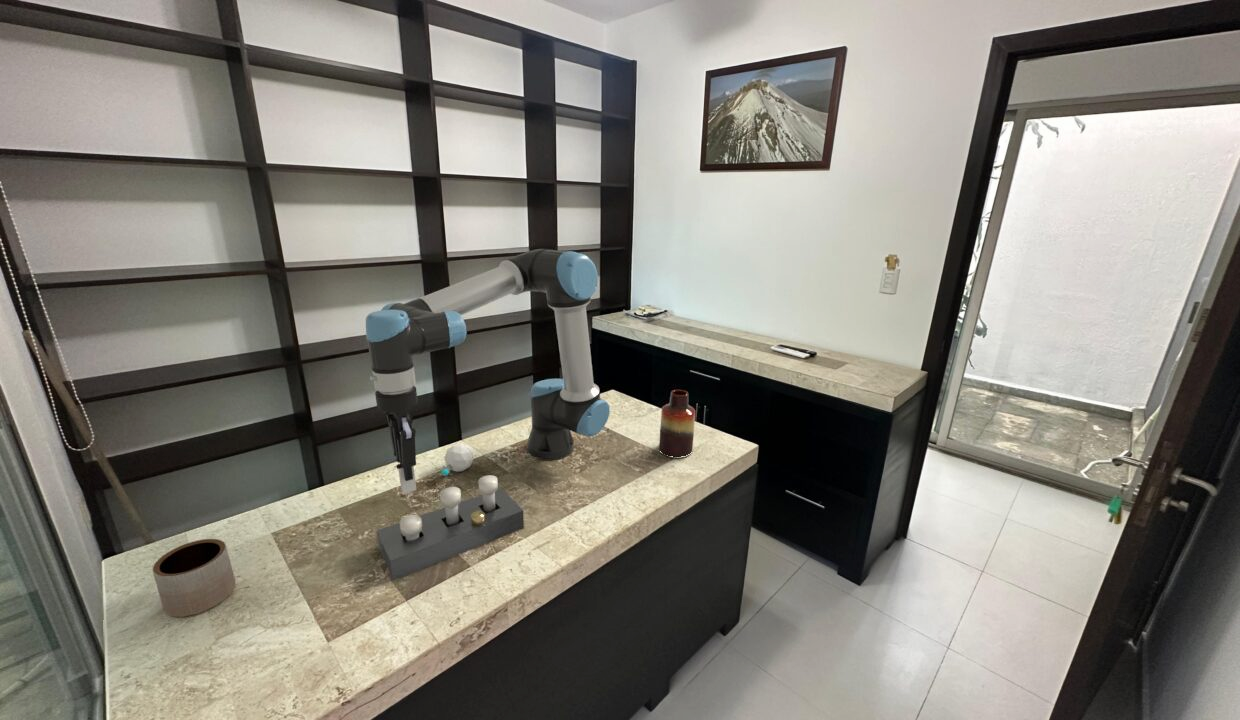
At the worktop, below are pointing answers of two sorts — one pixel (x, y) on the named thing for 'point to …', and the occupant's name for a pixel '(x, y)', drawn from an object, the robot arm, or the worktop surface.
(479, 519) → the brass dial
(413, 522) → the knob
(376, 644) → the worktop surface
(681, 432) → the vase
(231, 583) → the planter
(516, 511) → the mount
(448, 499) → the knob mid
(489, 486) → the knob
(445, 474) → the perfume bottle
